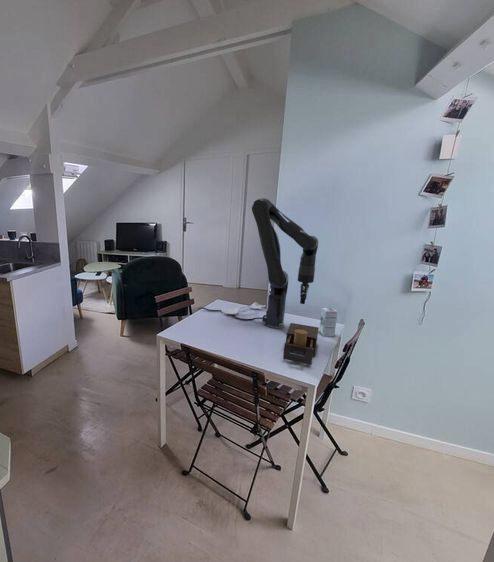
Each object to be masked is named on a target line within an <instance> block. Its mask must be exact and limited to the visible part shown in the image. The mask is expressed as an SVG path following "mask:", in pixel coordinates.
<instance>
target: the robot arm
mask: <svg viewBox="0 0 494 562" xmlns="http://www.w3.org/2000/svg"><path fill="white" fill-rule="evenodd" d="M251 212H252V215H253V218H254V220H255V223H256V227H257V232H258V237H259V241H260V246H261V250H262V251H261V252H262V253H263V254H262V255H263V257H264V260H265V264H266V269H267V275H268V283H269V290H268V294H267V295H268V296H267V297H268V298H267V306H266V307H267V308H266V311H265V314H263V315H262V317H259V316H258V317H253V318H241V317H238V316H236V315H235V314H232V315H231V316H232V317H233V318H234V319H236V320H240V321H255V320H262V321H261V322H262V323H265V324H264V326H266V327H269V328H273V329H281V328H283V327H284V325H285V322H284V321H285V313H286V312H285V311H286V304H287V303H286V302H287V294H288V288H289V287H288V286H289V279H290V278H289V274H288V273H287V272H286V271H285V270H283V267H282V261H281V256H282V255H281V244H280V240H279V236H278V234H277V231H276V229H275V227H274V226H273V225H272V224H273V223H274V224H275V225H276V226H277V228H279V229H280V231H282V232H283V233H284V234H286V236H288V237H289V238H290V239H292V240H294V242H296V245H298V246H299V247H300V248H302V253H301V255H300V259H299V267H298V272H297V273H298V274H297V282H299V283H301V284H300V290H299V293H300V295H299V297H300V301H299V304H300V305H305V304H306V300H307V297H308V296H307V295H308V292H309V289H310V284H313V283H314V281H315V273H316V259H317V258H316V257H317V253H318V252H317V251H318V248H319V239H318V238H317V237H316V236H315V235H310V234H308V232H306V231H305V230H304V228H303V227H301V226H300V225H299V224H298V223H296V222H295V221H293V220H292V219H290V218H289V217H288V216H286V214H284V213H282V212H281V211H280V209H279V208H277V207H276V206H275V204H273V202H272V201H271V200H270V199H269V198H263V197H262V198H258V199H255V200H254V201H253V202H252V205H251ZM272 222H273V223H272ZM201 309H203V310H206V311H209V312H222V310H223V309H209V308H207V307H203V306H201V307H198V308H197V310H201ZM222 313H223V312H222Z"/></svg>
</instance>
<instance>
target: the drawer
mask: <svg viewBox="0 0 494 562" xmlns="http://www.w3.org/2000/svg"><path fill="white" fill-rule="evenodd" d="M313 340H314V339H309V338H307V340H306V347H304V346H299V345H294V336H293V335H290V336H289V339H288V341H287V343H286V342H285V343H284V346H283V348H284V349H283V354H282V355H283V356H282V357H283V358H282V359H283V360H287V361H291V362H296V363H300V364H305V365H309V366H312V364H313V357H314V356H313V349H314V348H313Z"/></svg>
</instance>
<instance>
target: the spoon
mask: <svg viewBox="0 0 494 562" xmlns="http://www.w3.org/2000/svg"><path fill="white" fill-rule="evenodd" d="M265 307H267V305H264V304H260V303H258V302H257V301H255V302H253V303H252V304H250V305H241V306H240V307H236V308H226V309H221V310H222V313H223V314H225V315H230V316H232V314H233V315H237V314H238V313H239V312H240V310H241V309H246V308H249V309H253V310H257V309H261V308H262V309H263V308H265Z"/></svg>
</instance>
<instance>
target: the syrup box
mask: <svg viewBox="0 0 494 562" xmlns="http://www.w3.org/2000/svg"><path fill="white" fill-rule="evenodd" d="M320 312H321V313H320V321H319V329H318V333H320V334H321V335H322V336H323V337H335V334H336V325H337V319H338V311H337V310H336V309H335V308H333V307H321V311H320Z"/></svg>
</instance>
